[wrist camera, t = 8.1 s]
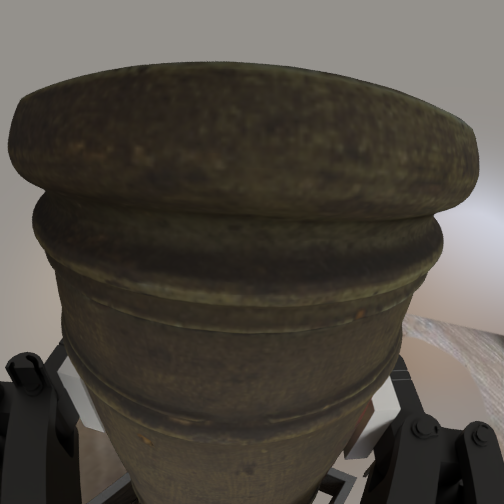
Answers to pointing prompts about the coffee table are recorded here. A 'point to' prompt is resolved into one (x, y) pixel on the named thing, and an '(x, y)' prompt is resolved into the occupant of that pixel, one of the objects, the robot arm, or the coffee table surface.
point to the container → (236, 259)
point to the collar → (335, 484)
